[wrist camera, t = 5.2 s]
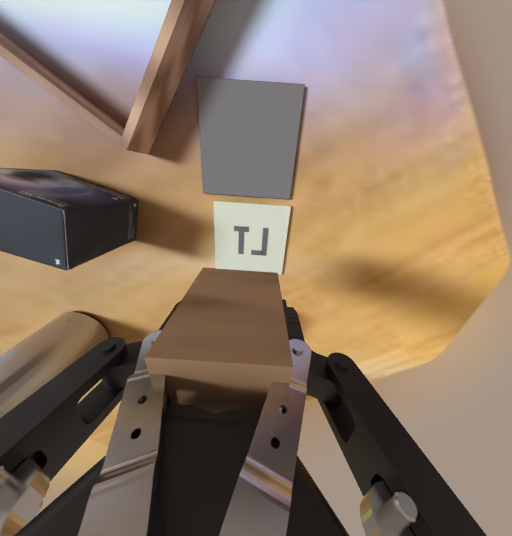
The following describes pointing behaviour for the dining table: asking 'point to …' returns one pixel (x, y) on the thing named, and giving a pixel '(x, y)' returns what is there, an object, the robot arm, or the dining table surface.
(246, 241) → the tile
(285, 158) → the rubber pad
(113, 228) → the small box
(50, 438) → the robot arm
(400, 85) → the dining table surface
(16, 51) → the planter tray
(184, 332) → the walnut block
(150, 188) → the dining table surface
